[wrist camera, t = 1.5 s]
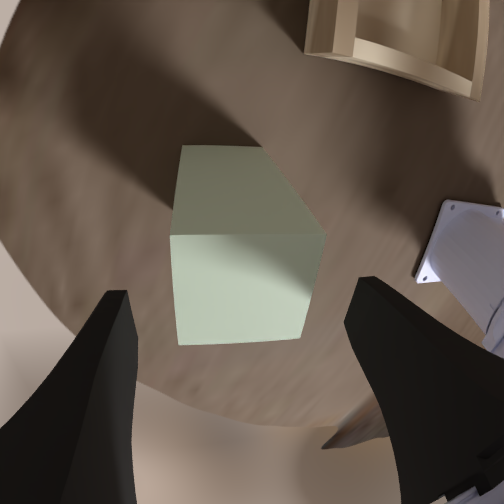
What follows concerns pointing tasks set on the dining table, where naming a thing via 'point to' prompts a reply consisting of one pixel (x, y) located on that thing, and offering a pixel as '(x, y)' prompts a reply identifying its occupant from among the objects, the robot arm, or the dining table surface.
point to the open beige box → (406, 39)
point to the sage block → (240, 248)
